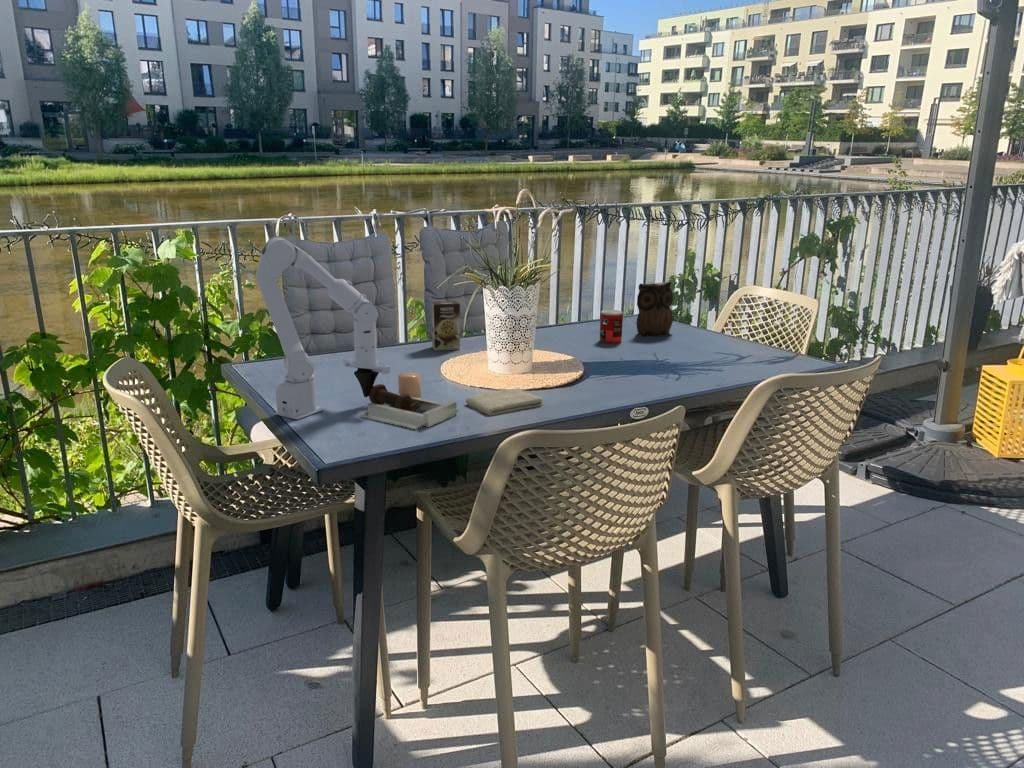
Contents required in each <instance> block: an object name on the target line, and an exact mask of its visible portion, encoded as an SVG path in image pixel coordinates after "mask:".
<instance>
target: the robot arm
mask: <svg viewBox="0 0 1024 768" xmlns="http://www.w3.org/2000/svg"><path fill="white" fill-rule="evenodd" d="M259 255H260V256H259V261H258V264H257V268H256V269H257V270H256V272H255V280H256V282H257V285H258V288H259V291H260V293H261V295H262V298H263V301H264V303H265V307H266V309H267V311H268V314H269V316H270V319H271V321H272V325H273V326H274V329H275V332H276V335H277V337H278V339H279V342H280V344H281V348H282V352H283V354H284V358H283V363H284V366H285V368H286V370H287V373H286V374H285V376H284V381H283V382H282V383H280V384H278V385H277V387H276V388H275V389H276V390H275V397H276V412H275V415H277V416H281V417H285V418H288V419H293V420H301V419H303V418H306V417H309V416H312V415H314V414H317V413H319V412H323V411H325V408H324V407H320V406H318V405H317V394H316V381H315V374H314V372H315V365H314V362H313V361H312V360H311V359H310V357H309V354H308V353H307V352H306V351H305V350H304V347H303V346H302V342H301V340H300V338H299V336H298V332H297V330H296V327H295V325H294V322H293V319H292V317H291V313H290V312H289V309H288V306H287V304H286V301H285V297H284V295H283V293H282V290H281V288H280V285H279V283H278V281H279V279H280V277H281V276H282V275H283V272H284V271H285V270H286V269H287V268H288V267H290V266H292V267H293V268H296V269H297V268H298V269H303V270H304V271H306V272H307V273H308V274H309V275H311V276H312V277H313V278H315V279H316V280H317V281H318V282H320V283H321V284H322V285H323V286H324V287H325V288H327V292H328V297H329V298H330V299H332V301H334V302H336V304H337V305H338V306H340V307H341V308H342V309H343V310H345V311H346V312H347V313H350V315H351V317H352V318H353V343H354V344H353V347H354V358H350V357H348V358H344V359H343V367H346V368H347V367H349V368H355V369H357V370H355V371H354V372H353V375H354V376H355V378H356V379H357V381H358V383H359V385H360V388H361V390H362V394H363V397H364V398H369V394H370V391H371V389H372V387H373V386H375V385H374V384H375V382H376V379H377V378H378V375H379V374H381V373H382V375H387V374H390V373H391V365H388V364H385V363H382V362H380V360H379V359H378V342H377V341H378V340H377V328H376V324H377V323H376V321H377V319H378V317H379V312H378V309H377V307H376V305H375V304H374V303H373V302H371V301H369V299H368V298H367V295H365V293H360V292H359V291H358V290H357V289H356V288H355V287H354V286H353V282H352V281H350V280H349V279H348V280H345V279H344V278H335V276H333V275H332V274H331V273H329V271H327V270H326V269H325V268H324V267H323V266H322V265H321V264H320V263H319V262H318V261H316V260H315V259H314V258H313V257H312V256H311V255H310V254H309V253H307V252H306V251H304V250H302V249H301V248H300V247H297V246H296V245H295V244H293V243H291V242H290V241H288V239H286V238H285V237H282V236H274V237H271V238H269V239H268V240H267V242H266V243H265V244H264V246H263V247H262V249H261V250H260V254H259Z"/></svg>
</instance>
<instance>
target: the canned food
mask: <svg viewBox="0 0 1024 768" xmlns="http://www.w3.org/2000/svg"><path fill="white" fill-rule="evenodd" d="M599 317H600V318H599V320H600V322H599V324H600V325H599V341H600V342H601V343H604V344H609V345H610V344H611V345H612V344H620V343H621V342H622V337H623V336H622V335H623V319H624V312H623V311H622V310H617V309H603V310H601V311H600V316H599Z"/></svg>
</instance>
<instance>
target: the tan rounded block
mask: <svg viewBox="0 0 1024 768" xmlns="http://www.w3.org/2000/svg"><path fill="white" fill-rule="evenodd" d="M397 376H398V377H397V381H398V394H409V395H410V396H412V397H417V398H421V397H422V391H421V389H422V388H421V373H418V372H410V371H409V372H408V371H407V372H402V373H400V374H398V375H397Z"/></svg>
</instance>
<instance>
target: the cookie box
mask: <svg viewBox="0 0 1024 768" xmlns="http://www.w3.org/2000/svg"><path fill="white" fill-rule="evenodd" d="M431 344H432V345H431V347H432V349H433V351H435V352H436V351H454V350H455V351H456V350H461V304H460V302H458V301H456V300H455V301H454V300H453V301H451V300H450V301H449V300H448V301H431Z"/></svg>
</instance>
